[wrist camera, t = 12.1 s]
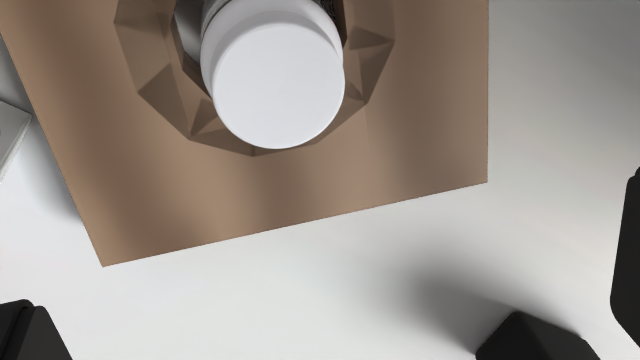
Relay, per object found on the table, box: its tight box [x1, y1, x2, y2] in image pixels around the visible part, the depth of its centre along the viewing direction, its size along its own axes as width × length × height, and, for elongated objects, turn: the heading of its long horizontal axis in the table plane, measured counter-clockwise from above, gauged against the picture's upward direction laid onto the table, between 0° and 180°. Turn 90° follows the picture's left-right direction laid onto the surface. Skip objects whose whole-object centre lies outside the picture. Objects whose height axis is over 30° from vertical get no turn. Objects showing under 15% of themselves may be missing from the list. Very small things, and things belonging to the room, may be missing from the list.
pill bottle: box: [200, 0, 345, 149], centre depth 21 cm, size 5×5×8 cm
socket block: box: [0, 0, 488, 267], centre depth 23 cm, size 18×18×2 cm
